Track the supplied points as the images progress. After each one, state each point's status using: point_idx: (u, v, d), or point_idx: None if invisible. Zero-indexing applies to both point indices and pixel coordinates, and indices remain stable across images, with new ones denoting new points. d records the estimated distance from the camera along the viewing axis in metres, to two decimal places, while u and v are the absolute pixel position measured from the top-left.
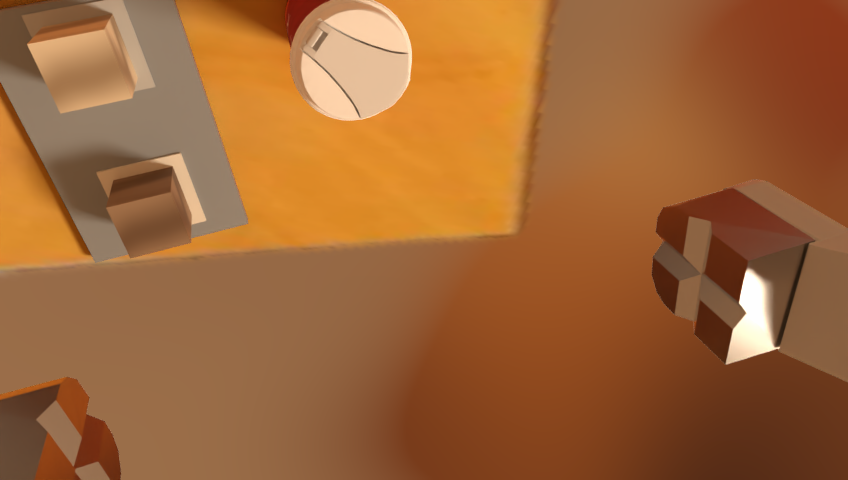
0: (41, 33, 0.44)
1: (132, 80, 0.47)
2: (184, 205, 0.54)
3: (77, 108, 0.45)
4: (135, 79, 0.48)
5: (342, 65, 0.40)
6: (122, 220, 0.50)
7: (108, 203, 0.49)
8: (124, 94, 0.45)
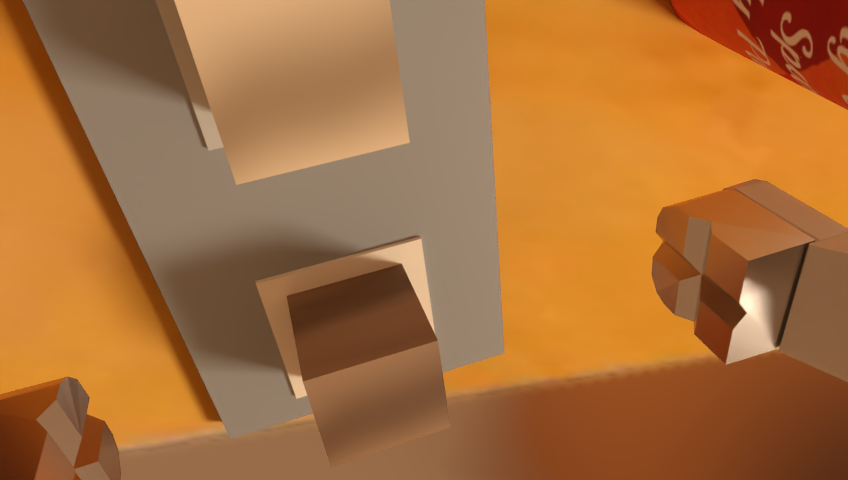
0: None
1: None
2: None
3: (279, 171, 0.17)
4: None
5: None
6: (331, 402, 0.23)
7: (303, 367, 0.22)
8: (394, 133, 0.18)
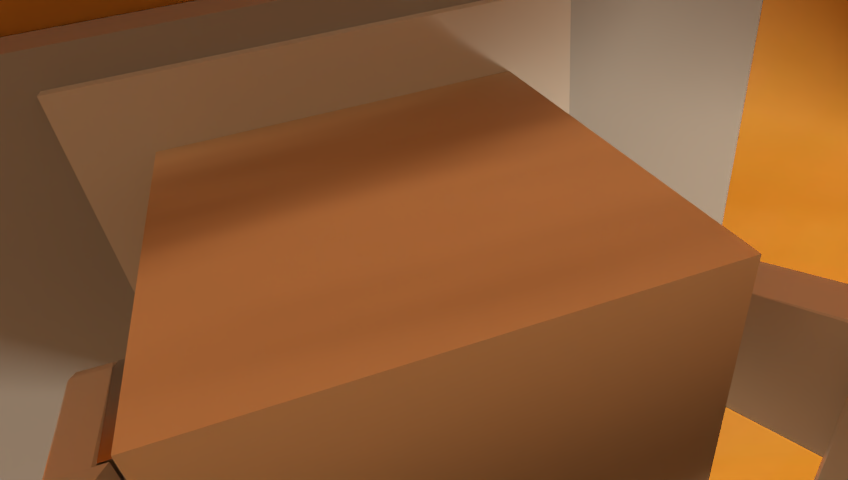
0: (182, 233, 0.06)
1: None
2: None
3: None
4: None
5: None
6: None
7: None
8: None
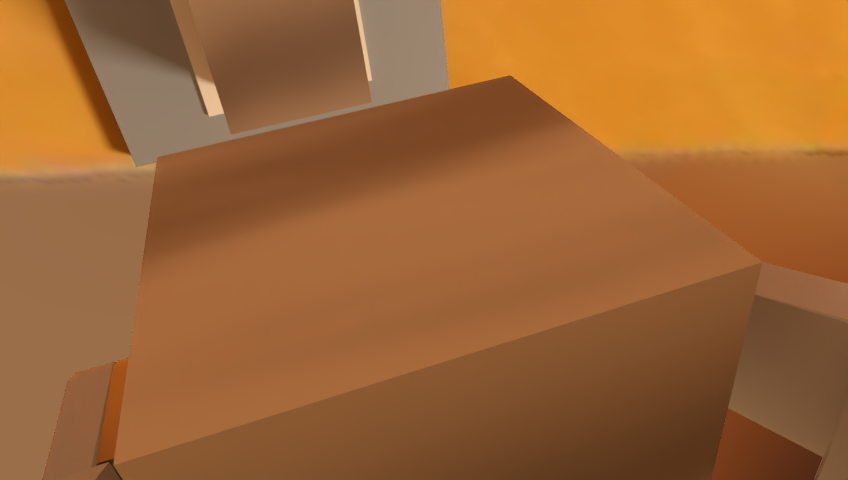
0: (184, 240, 0.06)
1: None
2: None
3: None
4: None
5: None
6: (220, 24, 0.19)
7: None
8: None
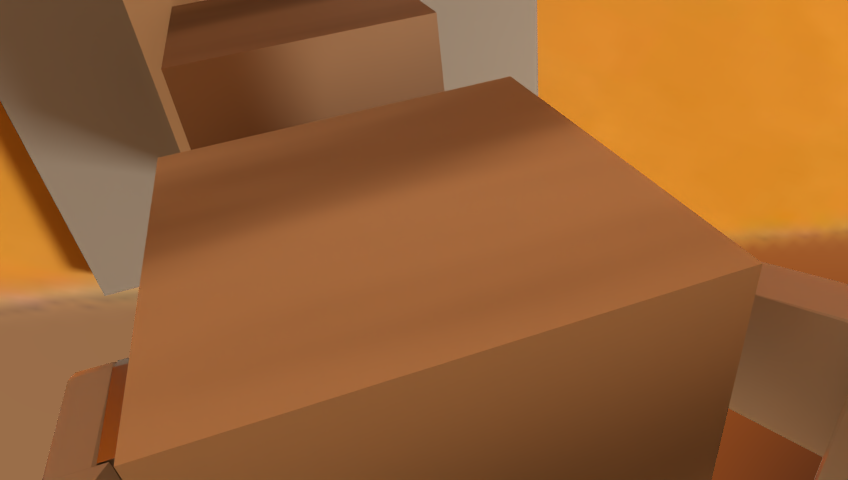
0: (184, 241, 0.06)
1: None
2: None
3: None
4: None
5: None
6: (228, 134, 0.12)
7: (169, 56, 0.11)
8: None
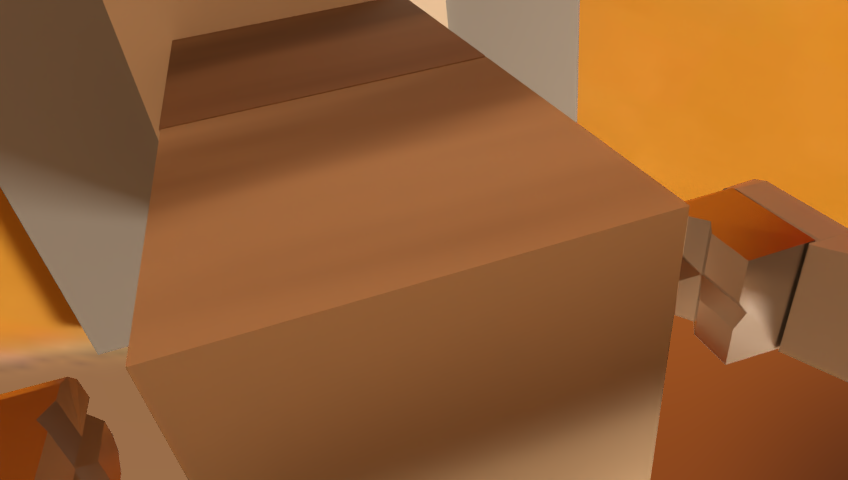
0: (185, 196, 0.07)
1: None
2: None
3: None
4: None
5: None
6: None
7: (168, 110, 0.09)
8: None
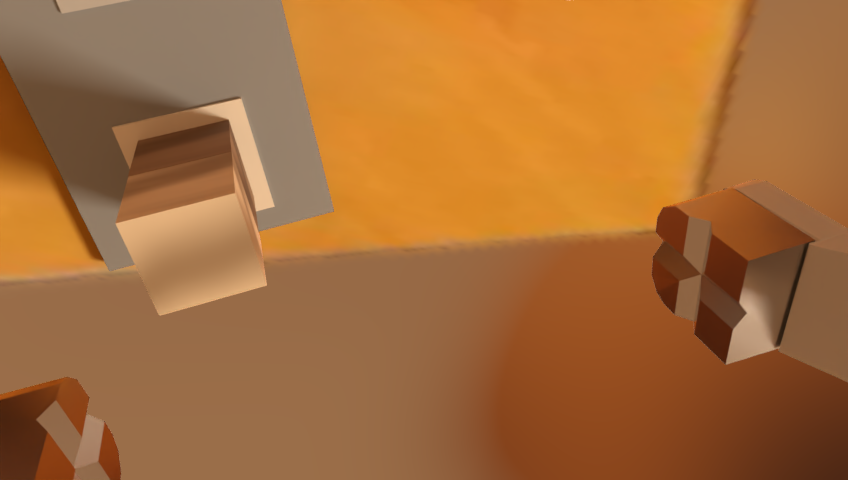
0: (131, 194, 0.28)
1: (260, 249, 0.31)
2: (246, 179, 0.35)
3: (185, 306, 0.29)
4: (260, 242, 0.32)
5: None
6: None
7: (131, 170, 0.31)
8: (256, 281, 0.29)
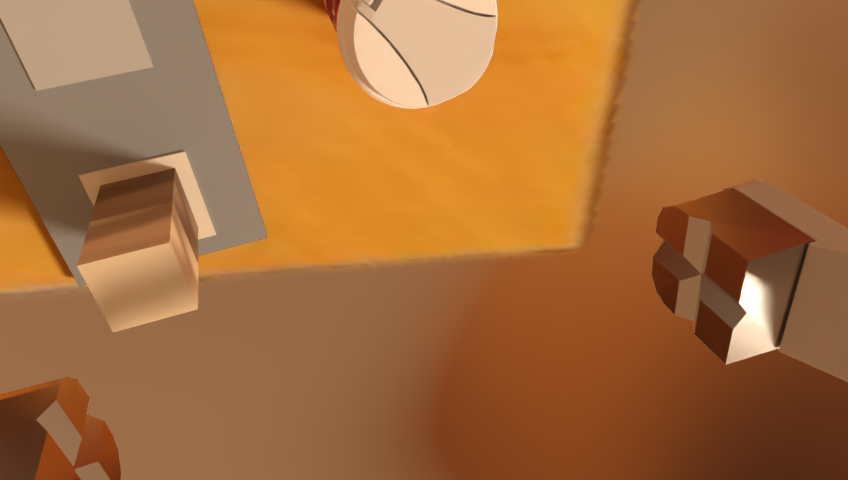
0: (91, 239, 0.36)
1: (195, 278, 0.40)
2: (189, 216, 0.44)
3: (133, 325, 0.37)
4: (197, 271, 0.41)
5: (409, 31, 0.29)
6: None
7: (93, 215, 0.39)
8: (189, 306, 0.38)
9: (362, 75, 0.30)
